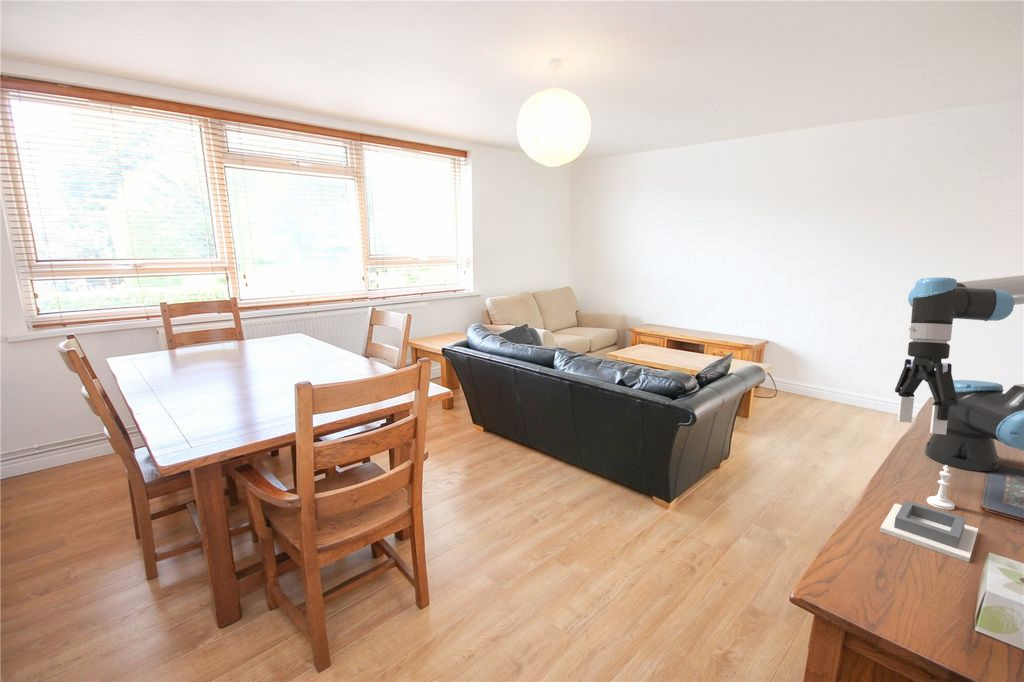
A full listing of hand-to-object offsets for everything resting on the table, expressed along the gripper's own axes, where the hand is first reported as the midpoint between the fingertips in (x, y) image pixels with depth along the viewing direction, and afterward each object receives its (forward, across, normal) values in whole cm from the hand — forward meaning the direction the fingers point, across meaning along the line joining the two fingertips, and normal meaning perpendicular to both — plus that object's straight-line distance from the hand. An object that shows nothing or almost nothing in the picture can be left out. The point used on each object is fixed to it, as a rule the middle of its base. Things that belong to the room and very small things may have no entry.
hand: (920, 427), depth 112 cm
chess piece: (+18, +3, +4) cm, 18 cm away
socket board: (+20, +16, -5) cm, 26 cm away
